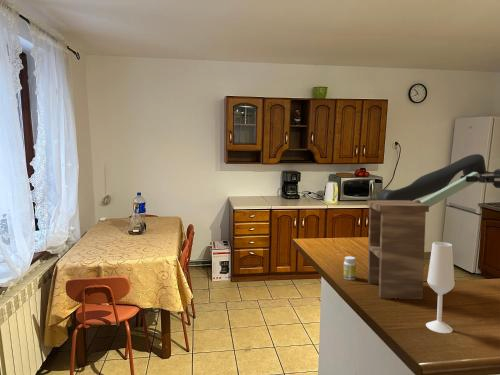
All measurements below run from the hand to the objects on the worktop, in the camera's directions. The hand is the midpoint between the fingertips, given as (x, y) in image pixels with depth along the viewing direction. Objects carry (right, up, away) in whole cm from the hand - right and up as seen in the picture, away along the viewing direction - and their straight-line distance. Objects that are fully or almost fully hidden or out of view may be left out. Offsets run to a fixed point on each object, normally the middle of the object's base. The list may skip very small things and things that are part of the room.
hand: (463, 178), depth 135 cm
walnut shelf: (-32, -41, -10) cm, 53 cm away
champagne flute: (-31, -43, -38) cm, 65 cm away
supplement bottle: (-44, -40, +3) cm, 60 cm away
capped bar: (-6, -7, +1) cm, 9 cm away
